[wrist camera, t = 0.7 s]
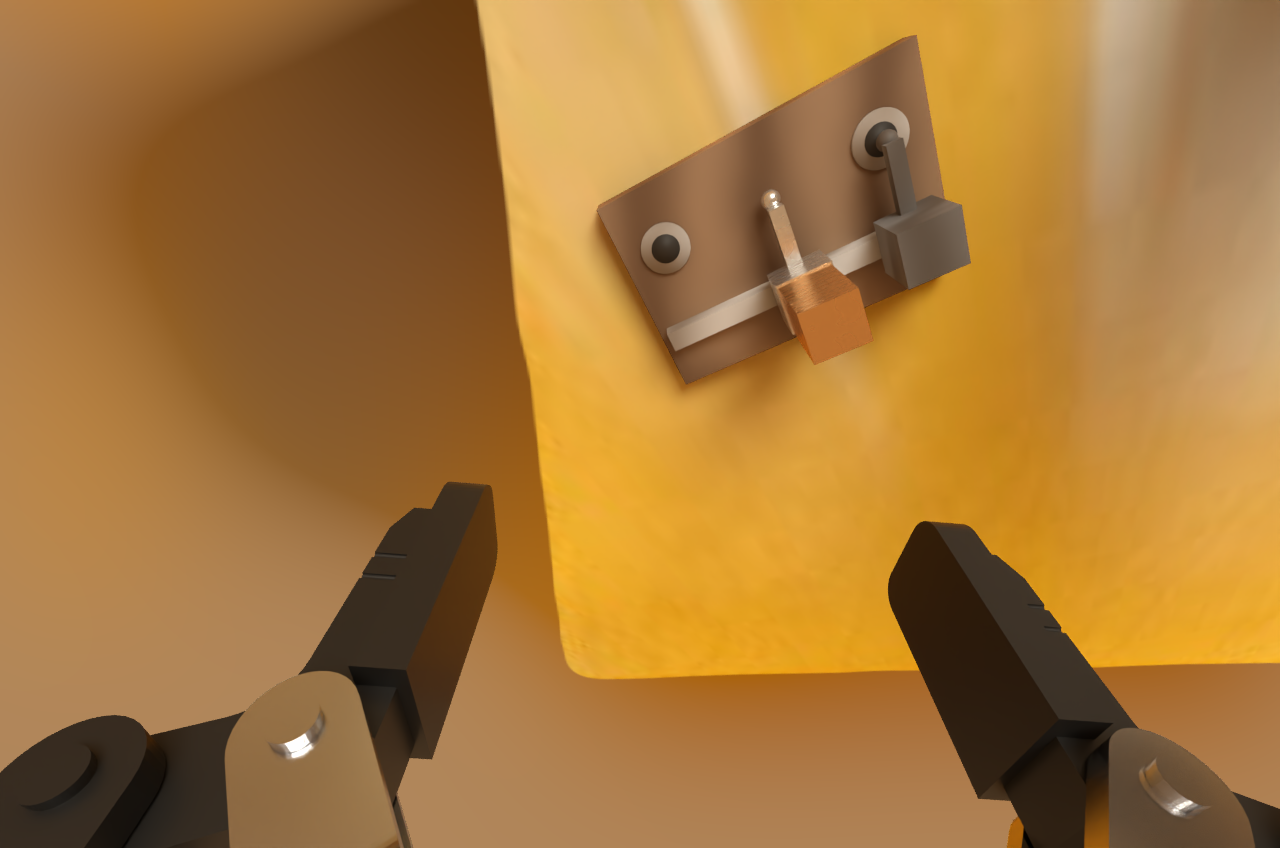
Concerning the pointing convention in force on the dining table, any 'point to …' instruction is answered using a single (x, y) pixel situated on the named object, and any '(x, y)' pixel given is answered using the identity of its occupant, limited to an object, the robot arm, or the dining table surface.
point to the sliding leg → (814, 294)
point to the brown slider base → (792, 211)
